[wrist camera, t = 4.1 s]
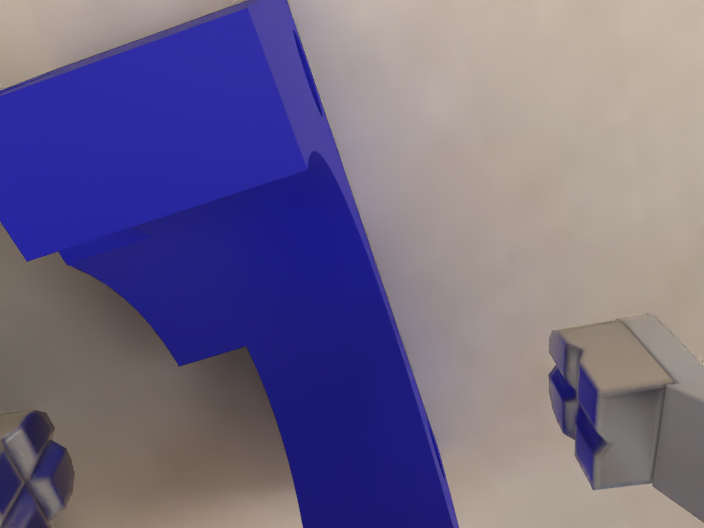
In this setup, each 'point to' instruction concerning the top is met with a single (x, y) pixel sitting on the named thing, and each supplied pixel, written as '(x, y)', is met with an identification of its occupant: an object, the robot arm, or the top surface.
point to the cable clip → (232, 242)
